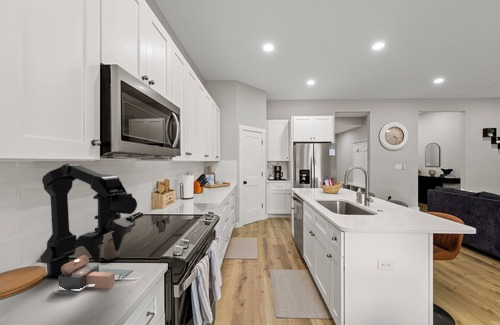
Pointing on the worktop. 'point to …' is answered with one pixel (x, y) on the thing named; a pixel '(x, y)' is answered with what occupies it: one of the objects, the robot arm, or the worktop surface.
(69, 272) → the dispenser
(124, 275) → the mat
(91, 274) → the salmon pink rectangular block
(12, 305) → the worktop surface
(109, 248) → the vase
